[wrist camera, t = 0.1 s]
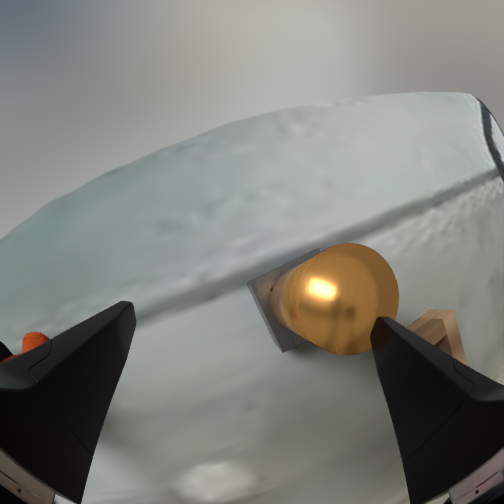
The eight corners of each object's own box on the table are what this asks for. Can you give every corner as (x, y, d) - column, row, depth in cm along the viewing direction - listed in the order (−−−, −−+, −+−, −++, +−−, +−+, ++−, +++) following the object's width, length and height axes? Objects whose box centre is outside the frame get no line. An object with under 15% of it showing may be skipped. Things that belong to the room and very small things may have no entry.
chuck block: (333, 314, 24) (350, 316, 20) (275, 344, 23) (282, 352, 19) (306, 255, 25) (318, 247, 21) (246, 284, 24) (248, 281, 20)
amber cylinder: (327, 311, 24) (411, 319, 11) (279, 336, 23) (326, 375, 10) (304, 263, 24) (371, 226, 11) (256, 287, 24) (278, 272, 11)
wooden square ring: (444, 360, 24) (466, 365, 20) (401, 396, 23) (421, 406, 19) (429, 309, 25) (452, 309, 21) (383, 344, 24) (404, 350, 20)
